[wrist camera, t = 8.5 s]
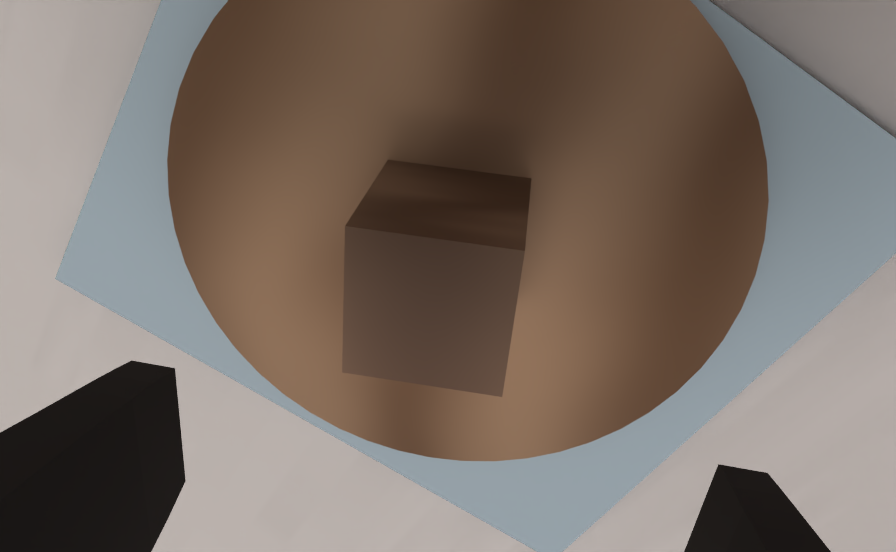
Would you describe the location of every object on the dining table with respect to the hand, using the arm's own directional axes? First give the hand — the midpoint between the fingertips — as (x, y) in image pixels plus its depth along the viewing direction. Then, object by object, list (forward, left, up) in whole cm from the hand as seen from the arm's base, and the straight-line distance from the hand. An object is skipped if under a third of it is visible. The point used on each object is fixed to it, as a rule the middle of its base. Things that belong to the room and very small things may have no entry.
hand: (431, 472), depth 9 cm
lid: (0, +1, -10) cm, 10 cm away
